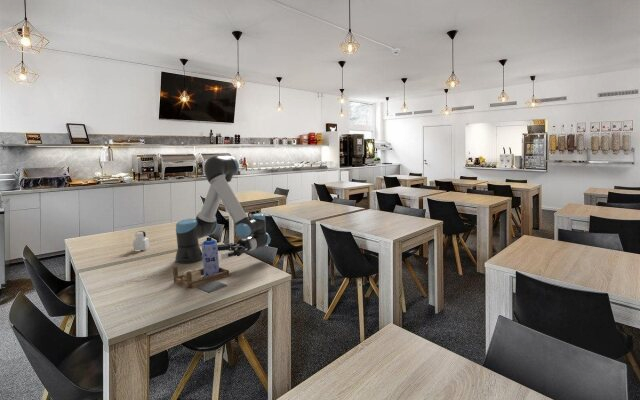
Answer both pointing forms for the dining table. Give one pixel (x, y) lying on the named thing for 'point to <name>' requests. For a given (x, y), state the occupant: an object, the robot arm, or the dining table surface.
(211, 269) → the aerosol can
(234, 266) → the dining table surface
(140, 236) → the medicine bottle
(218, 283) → the mat
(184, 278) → the offcut low
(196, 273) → the offcut top
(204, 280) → the rack
